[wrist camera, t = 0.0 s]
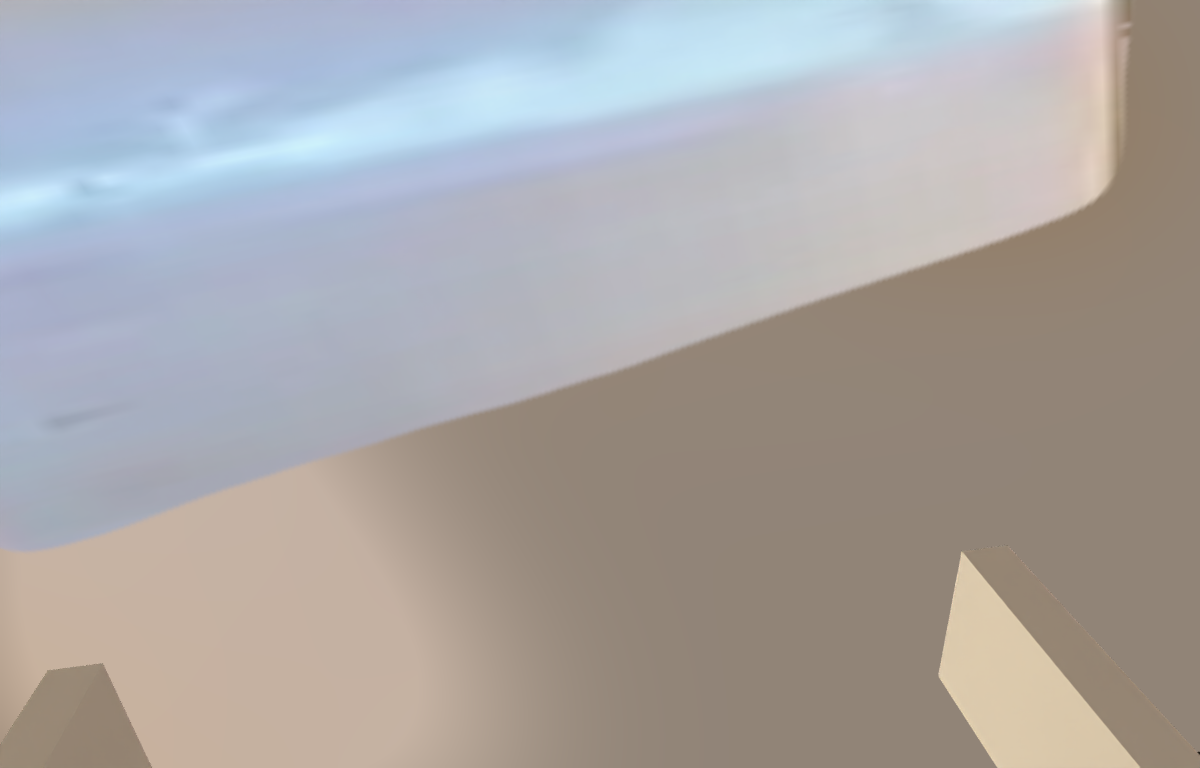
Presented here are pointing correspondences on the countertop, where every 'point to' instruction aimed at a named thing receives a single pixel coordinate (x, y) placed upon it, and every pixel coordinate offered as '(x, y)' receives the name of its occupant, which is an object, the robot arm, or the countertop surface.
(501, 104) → the countertop surface
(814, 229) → the countertop surface
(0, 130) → the countertop surface
